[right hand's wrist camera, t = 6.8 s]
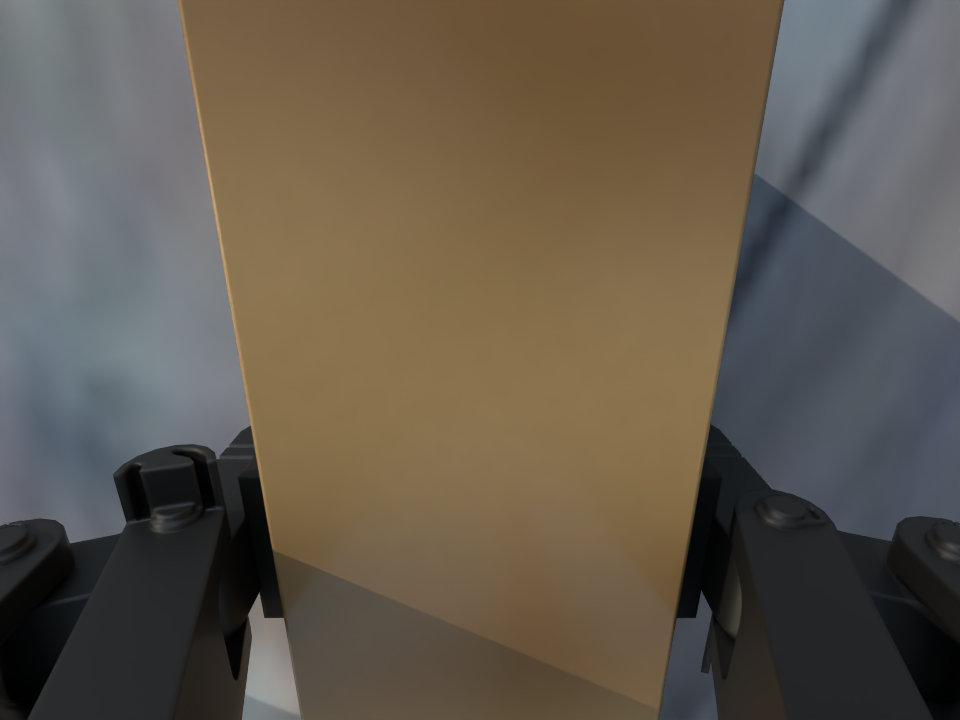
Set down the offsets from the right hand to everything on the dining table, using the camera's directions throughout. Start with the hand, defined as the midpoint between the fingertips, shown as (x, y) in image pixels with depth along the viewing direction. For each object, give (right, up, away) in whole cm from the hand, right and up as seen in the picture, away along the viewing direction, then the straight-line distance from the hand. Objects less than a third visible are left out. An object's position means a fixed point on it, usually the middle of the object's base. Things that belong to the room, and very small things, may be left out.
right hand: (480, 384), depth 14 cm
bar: (0, -16, +7) cm, 18 cm away
